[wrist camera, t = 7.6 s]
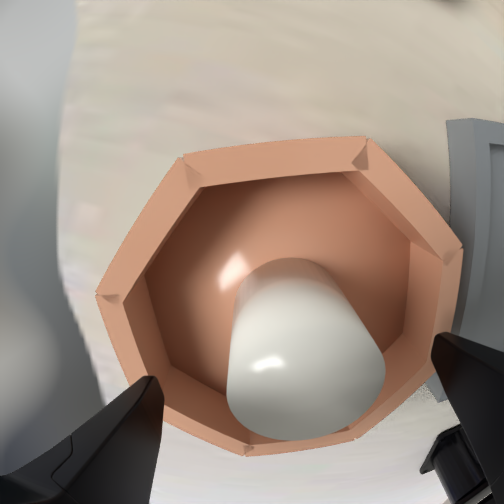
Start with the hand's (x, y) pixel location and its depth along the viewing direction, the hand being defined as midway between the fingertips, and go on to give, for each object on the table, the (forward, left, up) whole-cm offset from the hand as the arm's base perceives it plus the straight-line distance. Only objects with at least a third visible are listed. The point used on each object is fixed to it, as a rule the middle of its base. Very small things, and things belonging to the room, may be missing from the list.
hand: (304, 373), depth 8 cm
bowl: (0, 0, -5) cm, 5 cm away
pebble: (0, 0, -4) cm, 4 cm away
